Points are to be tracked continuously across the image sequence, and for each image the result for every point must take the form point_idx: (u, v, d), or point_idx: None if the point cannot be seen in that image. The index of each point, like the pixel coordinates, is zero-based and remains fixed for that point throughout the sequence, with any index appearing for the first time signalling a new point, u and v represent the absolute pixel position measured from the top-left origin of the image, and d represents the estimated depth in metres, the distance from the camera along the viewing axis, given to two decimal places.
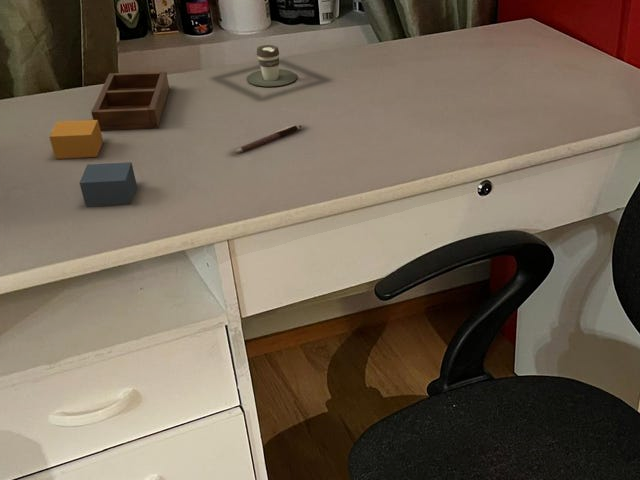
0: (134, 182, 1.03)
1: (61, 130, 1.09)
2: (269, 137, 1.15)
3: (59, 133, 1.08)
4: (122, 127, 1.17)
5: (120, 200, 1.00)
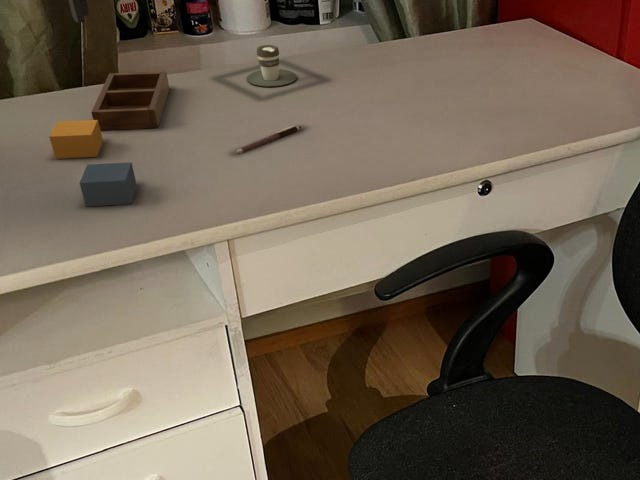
0: (134, 182, 1.03)
1: (61, 130, 1.09)
2: (269, 138, 1.15)
3: (59, 133, 1.08)
4: (122, 127, 1.17)
5: (120, 200, 1.00)
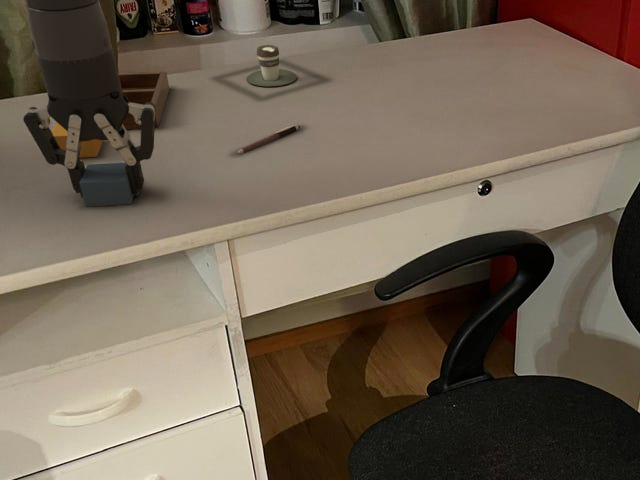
0: None
1: (61, 130, 1.09)
2: (269, 138, 1.15)
3: (59, 133, 1.08)
4: None
5: (120, 200, 1.00)
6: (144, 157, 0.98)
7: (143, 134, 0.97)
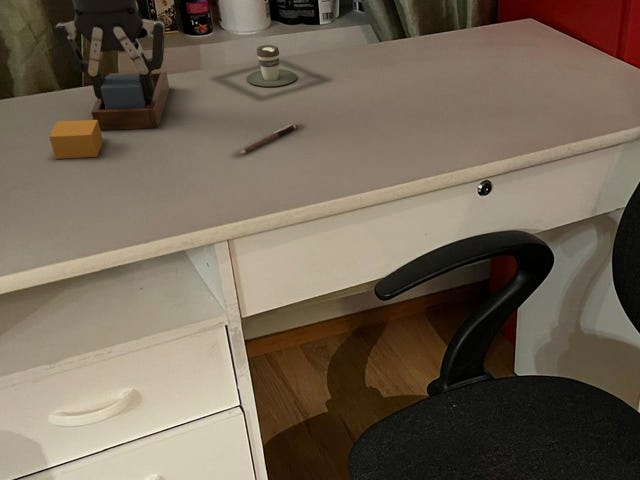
0: None
1: (61, 130, 1.09)
2: (269, 138, 1.15)
3: (59, 133, 1.08)
4: (122, 127, 1.17)
5: (135, 105, 1.17)
6: (155, 67, 1.16)
7: (154, 46, 1.14)
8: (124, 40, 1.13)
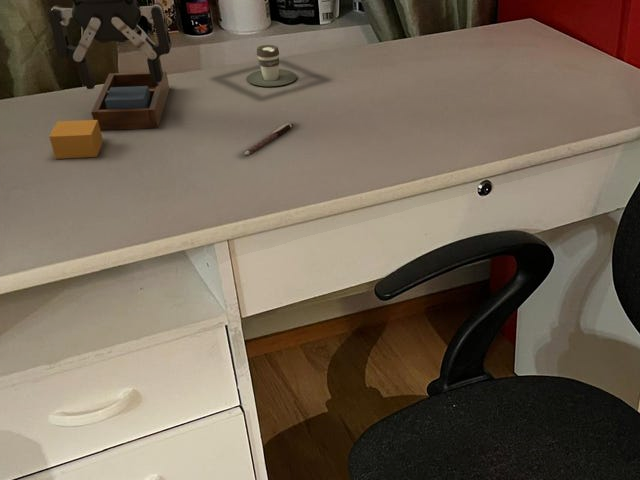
0: (150, 103, 1.21)
1: (61, 130, 1.09)
2: (269, 138, 1.15)
3: (59, 133, 1.08)
4: (122, 127, 1.17)
5: None
6: (163, 51, 1.15)
7: (157, 30, 1.13)
8: (122, 30, 1.12)
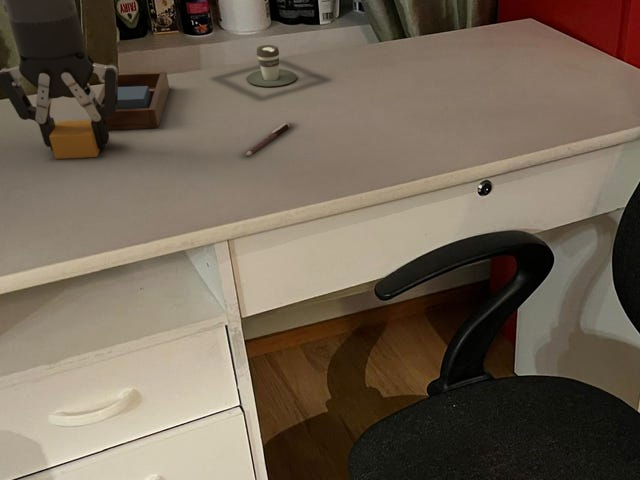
0: (150, 103, 1.21)
1: (61, 130, 1.09)
2: (269, 138, 1.15)
3: (59, 134, 1.08)
4: (122, 127, 1.17)
5: None
6: (108, 113, 1.08)
7: (106, 92, 1.07)
8: (73, 86, 1.05)
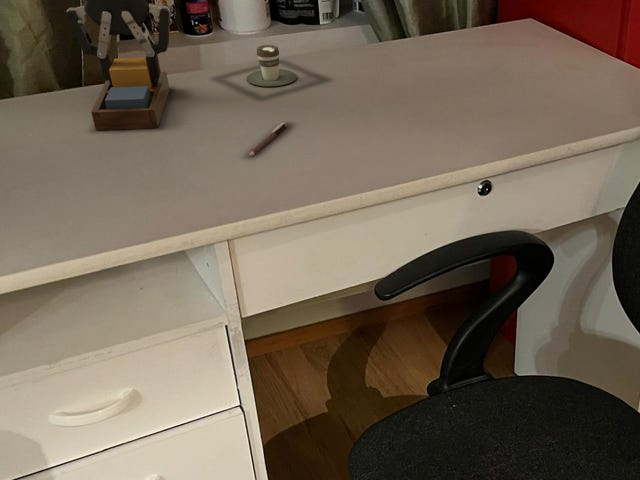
0: (150, 103, 1.21)
1: (119, 65, 1.22)
2: (269, 138, 1.15)
3: (117, 68, 1.21)
4: (122, 127, 1.17)
5: None
6: (161, 50, 1.21)
7: (160, 29, 1.20)
8: (132, 24, 1.18)
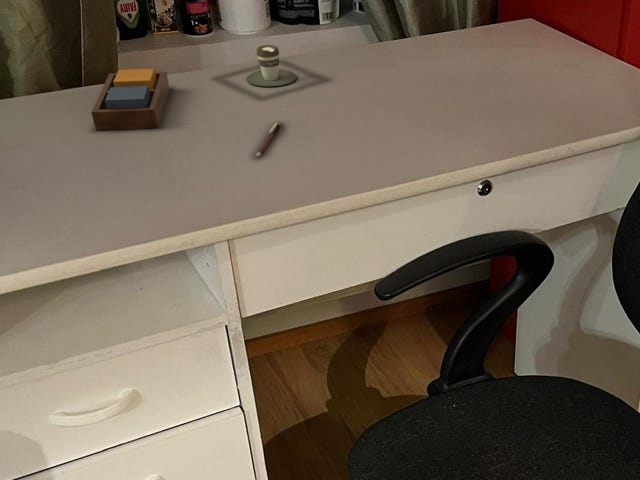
0: (150, 103, 1.21)
1: (123, 76, 1.23)
2: (269, 137, 1.15)
3: (121, 79, 1.22)
4: (122, 127, 1.17)
5: None
6: None
7: None
8: None
